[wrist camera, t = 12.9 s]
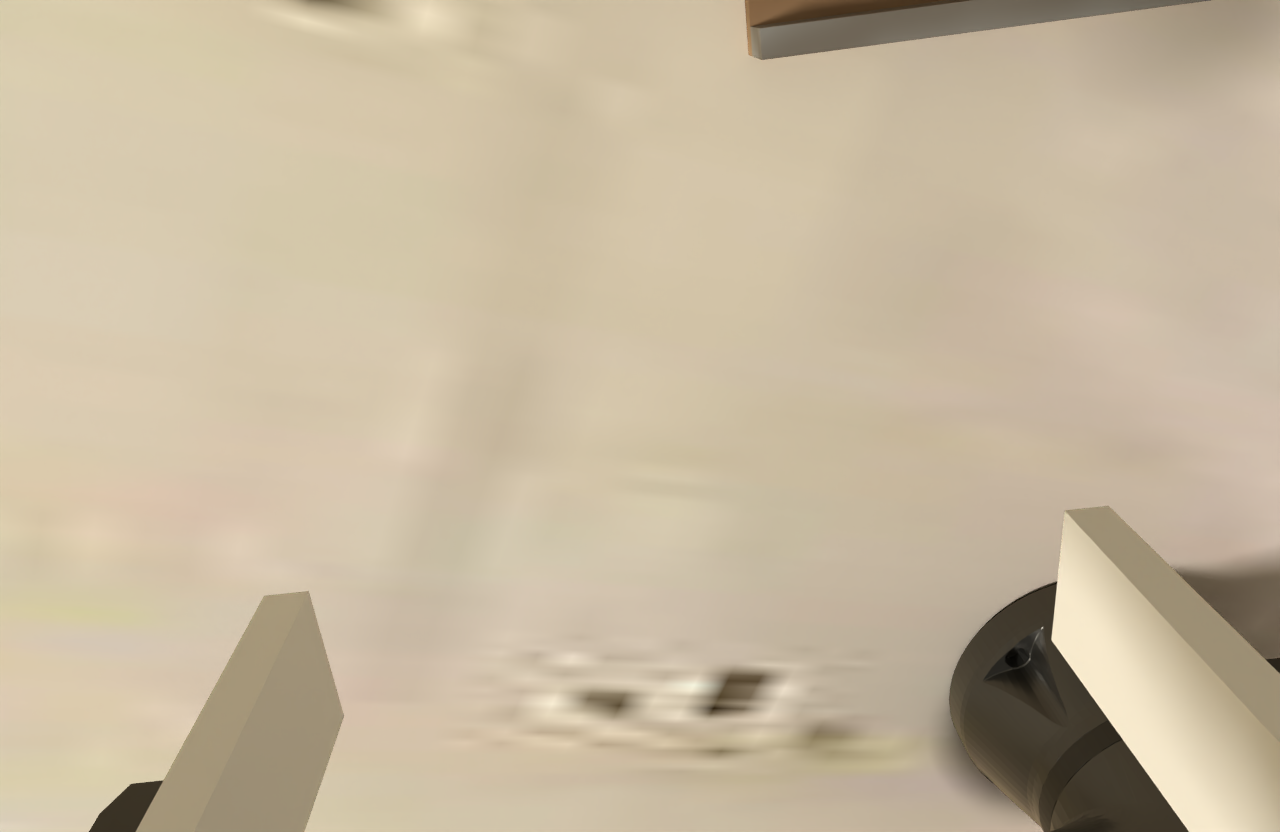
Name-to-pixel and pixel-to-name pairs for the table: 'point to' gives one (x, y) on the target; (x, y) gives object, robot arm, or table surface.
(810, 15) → the brown piece
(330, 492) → the table surface
